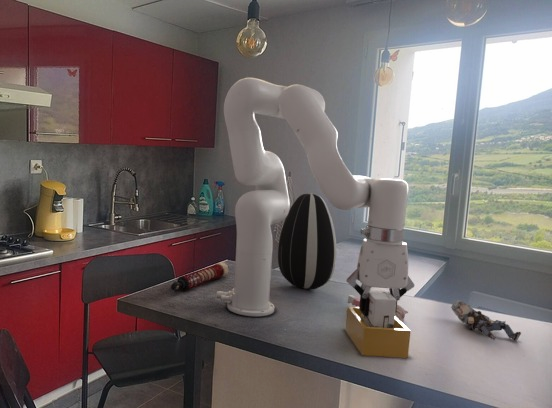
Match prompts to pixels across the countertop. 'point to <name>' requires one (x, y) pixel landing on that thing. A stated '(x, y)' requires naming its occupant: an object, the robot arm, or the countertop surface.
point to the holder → (377, 336)
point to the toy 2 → (481, 321)
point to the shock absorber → (201, 276)
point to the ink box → (380, 309)
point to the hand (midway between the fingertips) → (377, 314)
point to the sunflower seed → (307, 243)
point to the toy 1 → (399, 313)
